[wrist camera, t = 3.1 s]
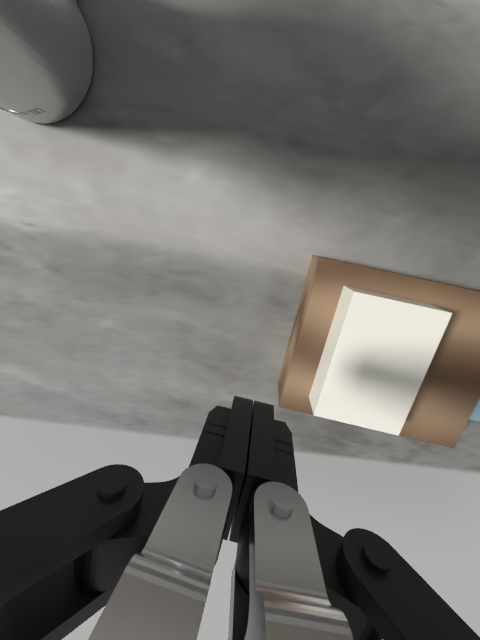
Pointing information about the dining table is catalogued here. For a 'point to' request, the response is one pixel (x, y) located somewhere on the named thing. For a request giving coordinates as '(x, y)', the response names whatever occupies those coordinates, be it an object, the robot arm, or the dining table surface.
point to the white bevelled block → (375, 359)
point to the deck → (445, 368)
